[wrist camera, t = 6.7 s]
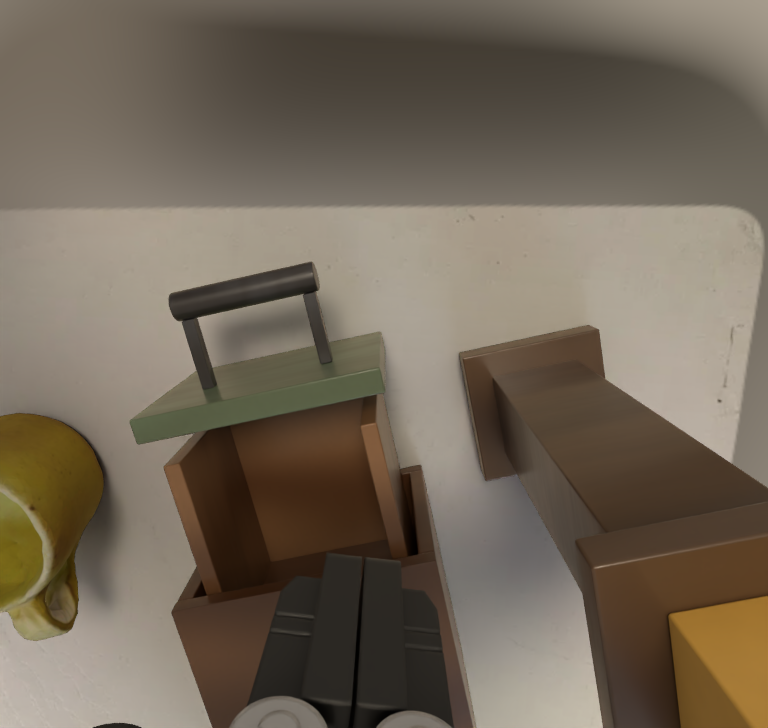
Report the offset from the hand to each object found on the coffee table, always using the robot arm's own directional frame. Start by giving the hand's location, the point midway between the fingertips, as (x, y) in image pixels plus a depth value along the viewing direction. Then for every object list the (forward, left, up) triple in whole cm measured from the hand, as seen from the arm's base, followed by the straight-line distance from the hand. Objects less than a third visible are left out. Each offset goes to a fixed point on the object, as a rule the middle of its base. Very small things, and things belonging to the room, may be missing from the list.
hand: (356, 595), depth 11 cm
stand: (+5, +9, -23) cm, 25 cm away
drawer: (+3, -5, -22) cm, 23 cm away
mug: (+5, -22, -23) cm, 33 cm away
